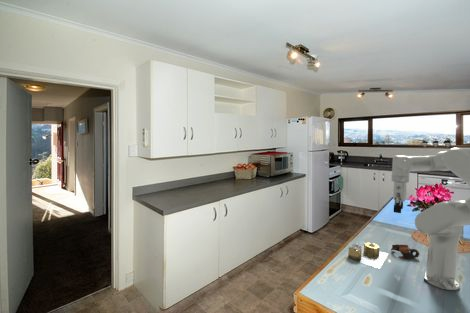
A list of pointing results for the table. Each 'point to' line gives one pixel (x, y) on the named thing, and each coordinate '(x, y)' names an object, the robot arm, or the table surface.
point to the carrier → (366, 256)
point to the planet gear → (371, 249)
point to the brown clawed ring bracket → (405, 251)
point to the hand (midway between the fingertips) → (398, 210)
